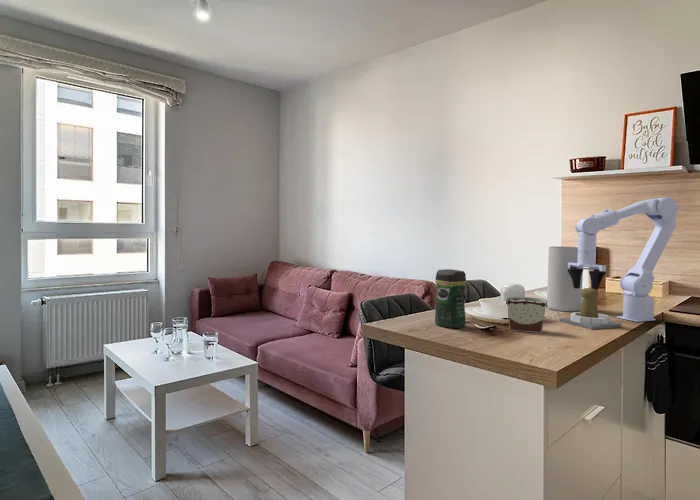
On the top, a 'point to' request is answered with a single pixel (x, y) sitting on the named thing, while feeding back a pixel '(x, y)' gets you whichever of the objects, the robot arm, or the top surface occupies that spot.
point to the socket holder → (590, 321)
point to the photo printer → (512, 291)
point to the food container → (526, 314)
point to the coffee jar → (450, 298)
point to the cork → (589, 303)
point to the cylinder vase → (562, 280)
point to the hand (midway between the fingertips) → (585, 289)
